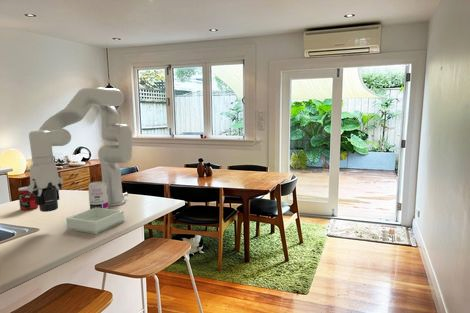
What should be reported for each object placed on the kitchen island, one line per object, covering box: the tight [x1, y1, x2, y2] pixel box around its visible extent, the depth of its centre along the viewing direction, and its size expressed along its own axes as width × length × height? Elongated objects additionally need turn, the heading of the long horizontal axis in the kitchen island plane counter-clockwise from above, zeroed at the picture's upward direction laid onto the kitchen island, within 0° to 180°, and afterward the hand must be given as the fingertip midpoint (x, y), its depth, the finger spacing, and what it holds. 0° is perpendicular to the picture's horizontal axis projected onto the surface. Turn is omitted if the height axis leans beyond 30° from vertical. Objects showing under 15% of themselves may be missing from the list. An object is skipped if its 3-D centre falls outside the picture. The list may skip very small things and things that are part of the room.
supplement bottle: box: [38, 182, 59, 213], centre depth 135 cm, size 7×7×12 cm
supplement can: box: [87, 180, 109, 210], centre depth 156 cm, size 8×8×15 cm
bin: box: [65, 207, 125, 235], centre depth 139 cm, size 16×16×5 cm
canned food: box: [17, 186, 39, 212], centre depth 166 cm, size 8×8×11 cm
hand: (48, 201), depth 136 cm, fingers closed on supplement bottle, 6 cm apart
